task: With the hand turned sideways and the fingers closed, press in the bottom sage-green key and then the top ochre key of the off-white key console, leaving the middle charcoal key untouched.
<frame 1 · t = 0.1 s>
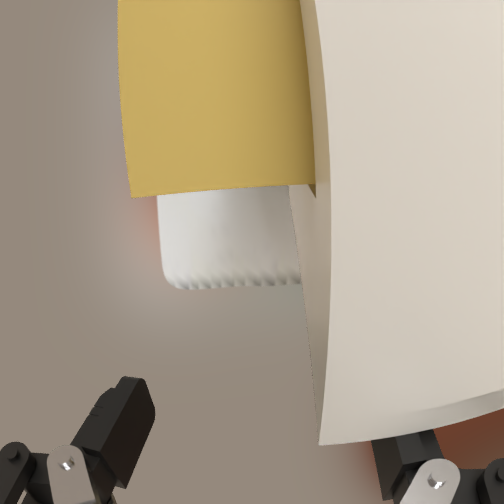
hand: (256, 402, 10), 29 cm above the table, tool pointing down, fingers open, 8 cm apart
ochre key: (257, 78, 9), point 27 cm above the table, slide at 0.0 cm
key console: (319, 117, 33), on the table
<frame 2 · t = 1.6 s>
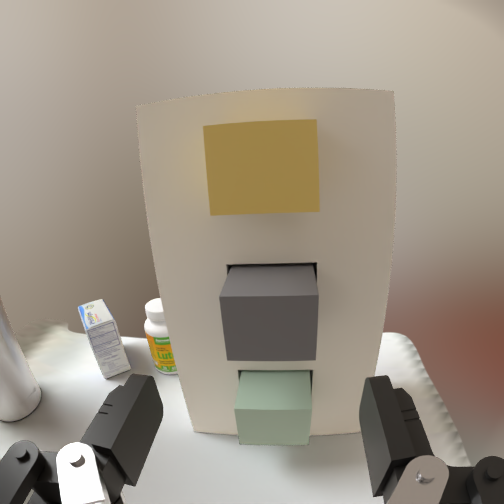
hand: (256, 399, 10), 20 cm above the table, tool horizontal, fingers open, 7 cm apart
ochre key: (265, 163, 20), point 27 cm above the table, slide at 0.0 cm
sage key: (275, 401, 26), point 7 cm above the table, slide at 0.0 cm
supplement bottle: (173, 364, 43), on the table
medicine box: (111, 362, 43), on the table
charcoal key: (272, 306, 23), point 17 cm above the table, slide at 0.0 cm
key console: (278, 410, 34), on the table
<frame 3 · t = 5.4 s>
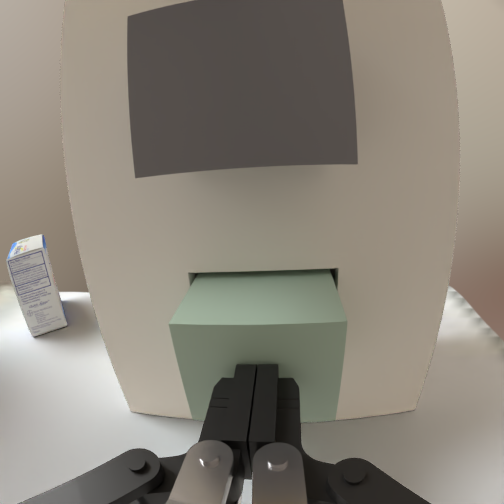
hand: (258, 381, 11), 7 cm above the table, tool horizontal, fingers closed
sage key: (264, 333, 14), point 7 cm above the table, slide at 0.7 cm, touching gripper
medicine box: (48, 319, 30), on the table
charcoal key: (247, 93, 10), point 17 cm above the table, slide at 0.0 cm
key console: (272, 380, 21), on the table
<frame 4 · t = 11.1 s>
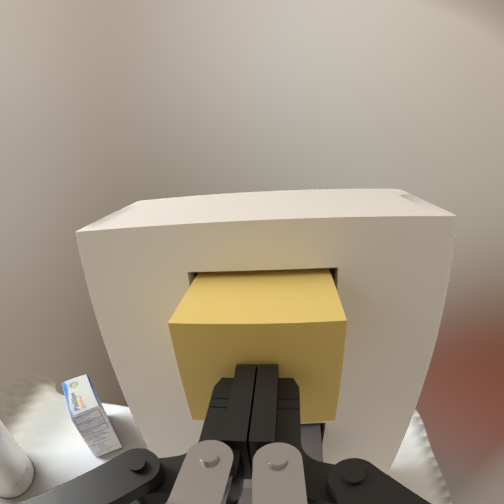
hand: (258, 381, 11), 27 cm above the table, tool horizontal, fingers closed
ochre key: (264, 332, 14), point 27 cm above the table, slide at 0.7 cm, touching gripper
medicine box: (101, 436, 36), on the table
charcoal key: (270, 464, 17), point 17 cm above the table, slide at 0.0 cm
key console: (276, 501, 27), on the table
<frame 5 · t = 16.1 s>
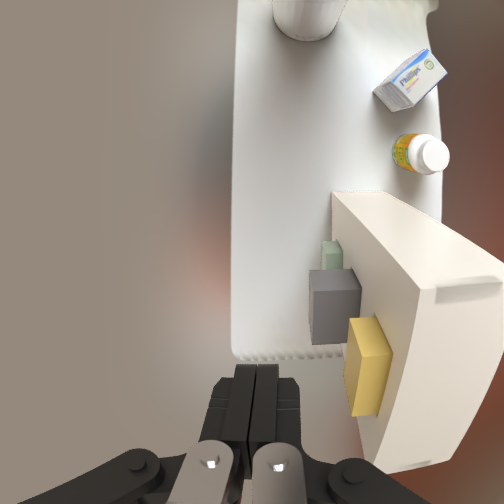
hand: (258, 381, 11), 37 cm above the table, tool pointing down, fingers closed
ochre key: (390, 364, 22), point 27 cm above the table, slide at 2.4 cm
sage key: (347, 268, 41), point 7 cm above the table, slide at 2.4 cm
supplement bottle: (407, 151, 42), on the table
medicine box: (397, 86, 39), on the table
charcoal key: (342, 305, 32), point 17 cm above the table, slide at 0.0 cm
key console: (356, 250, 47), on the table
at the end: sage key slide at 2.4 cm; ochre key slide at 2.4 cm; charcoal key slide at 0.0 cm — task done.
